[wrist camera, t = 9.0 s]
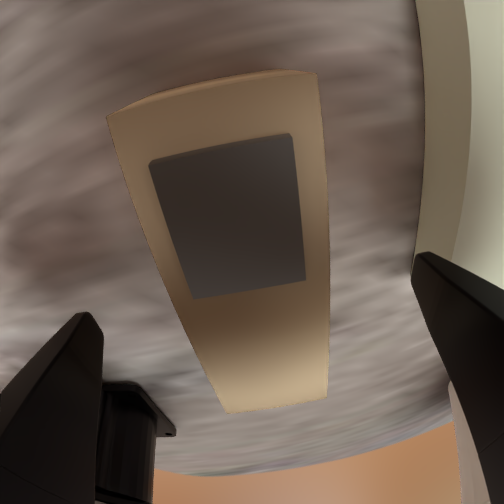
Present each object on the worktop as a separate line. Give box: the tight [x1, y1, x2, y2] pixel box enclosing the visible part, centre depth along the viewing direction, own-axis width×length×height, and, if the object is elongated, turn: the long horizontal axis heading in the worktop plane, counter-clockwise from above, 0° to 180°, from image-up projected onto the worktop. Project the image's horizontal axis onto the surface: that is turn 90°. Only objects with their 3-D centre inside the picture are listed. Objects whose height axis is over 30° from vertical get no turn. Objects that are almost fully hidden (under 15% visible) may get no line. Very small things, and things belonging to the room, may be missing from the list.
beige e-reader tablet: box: [106, 69, 330, 414], centre depth 9 cm, size 10×4×4 cm, turn 9°
